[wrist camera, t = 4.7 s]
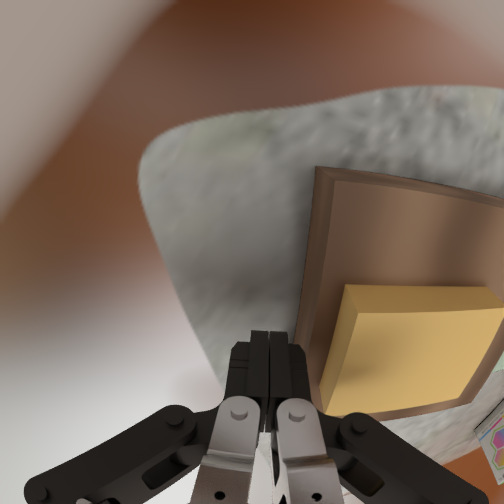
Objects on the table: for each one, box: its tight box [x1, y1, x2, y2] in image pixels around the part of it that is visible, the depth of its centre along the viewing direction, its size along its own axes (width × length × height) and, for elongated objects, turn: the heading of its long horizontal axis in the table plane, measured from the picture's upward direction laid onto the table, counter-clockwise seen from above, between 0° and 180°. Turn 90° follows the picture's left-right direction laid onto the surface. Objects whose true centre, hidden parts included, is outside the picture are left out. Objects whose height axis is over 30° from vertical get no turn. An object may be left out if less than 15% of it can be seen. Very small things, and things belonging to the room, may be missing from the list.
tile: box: [319, 284, 504, 416], centre depth 12 cm, size 8×6×2 cm
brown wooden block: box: [293, 166, 504, 422], centre depth 14 cm, size 14×14×4 cm
